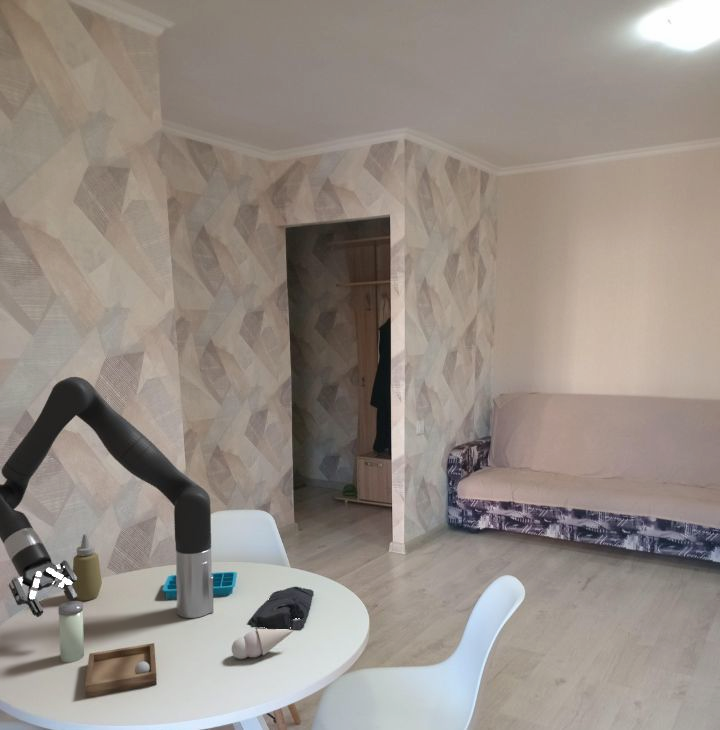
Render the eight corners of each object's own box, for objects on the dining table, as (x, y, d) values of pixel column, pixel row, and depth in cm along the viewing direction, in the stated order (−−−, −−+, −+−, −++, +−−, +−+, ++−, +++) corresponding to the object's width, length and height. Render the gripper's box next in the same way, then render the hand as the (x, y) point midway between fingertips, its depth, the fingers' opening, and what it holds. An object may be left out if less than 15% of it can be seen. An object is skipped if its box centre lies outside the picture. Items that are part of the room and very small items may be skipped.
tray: (154, 653, 149) (154, 643, 149) (156, 684, 136) (156, 673, 136) (89, 664, 144) (89, 653, 144) (85, 697, 131) (85, 685, 131)
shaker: (85, 649, 151) (83, 599, 150) (83, 660, 146) (82, 608, 145) (61, 653, 149) (59, 602, 148) (58, 664, 144) (57, 611, 144)
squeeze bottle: (91, 604, 176) (89, 540, 175) (65, 602, 178) (63, 538, 177) (108, 592, 184) (106, 531, 183) (83, 590, 186) (81, 529, 185)
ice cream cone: (298, 648, 151) (235, 669, 146) (290, 624, 155) (229, 644, 150) (298, 636, 147) (234, 658, 142) (291, 612, 151) (228, 633, 146)
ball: (149, 671, 139) (149, 657, 139) (149, 678, 136) (149, 664, 136) (135, 673, 138) (134, 660, 138) (135, 680, 135) (134, 667, 135)
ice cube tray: (168, 585, 190) (168, 575, 190) (237, 581, 193) (237, 571, 193) (161, 601, 178) (161, 591, 178) (235, 597, 181) (234, 586, 181)
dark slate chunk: (322, 598, 180) (322, 581, 180) (301, 634, 159) (301, 615, 159) (271, 594, 183) (270, 578, 183) (243, 629, 162) (243, 611, 161)
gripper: (4, 551, 147) (35, 610, 142) (60, 534, 159) (91, 588, 154) (-9, 569, 150) (22, 628, 145) (47, 551, 162) (77, 605, 157)
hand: (57, 607), depth 150 cm, fingers open, 8 cm apart
